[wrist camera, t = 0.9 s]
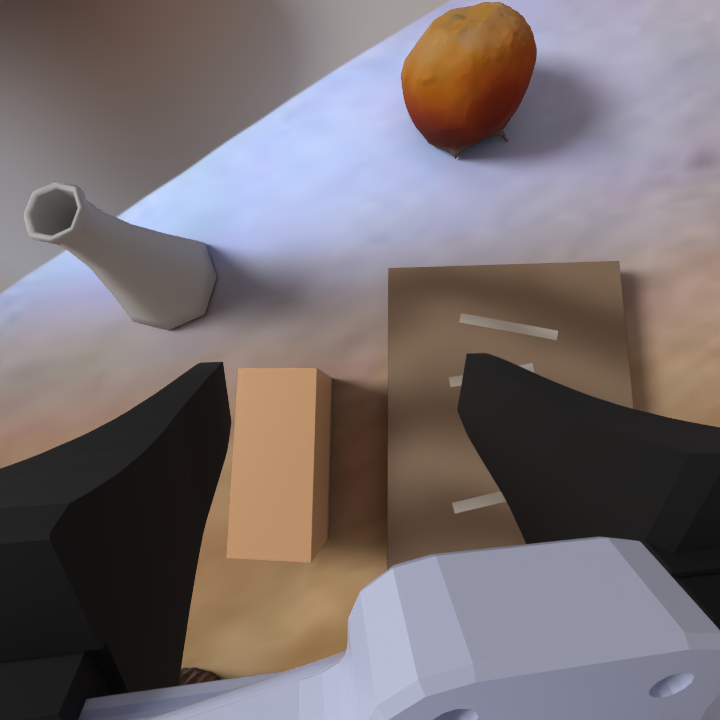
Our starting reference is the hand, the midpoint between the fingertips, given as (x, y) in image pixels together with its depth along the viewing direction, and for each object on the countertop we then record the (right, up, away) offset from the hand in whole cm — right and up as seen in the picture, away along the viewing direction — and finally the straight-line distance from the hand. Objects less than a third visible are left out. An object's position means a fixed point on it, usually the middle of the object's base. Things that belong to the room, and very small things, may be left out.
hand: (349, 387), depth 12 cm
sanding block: (-4, -5, +14) cm, 16 cm away
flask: (-13, +6, +17) cm, 23 cm away
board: (+9, -3, +13) cm, 16 cm away
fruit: (+8, +18, +17) cm, 26 cm away
